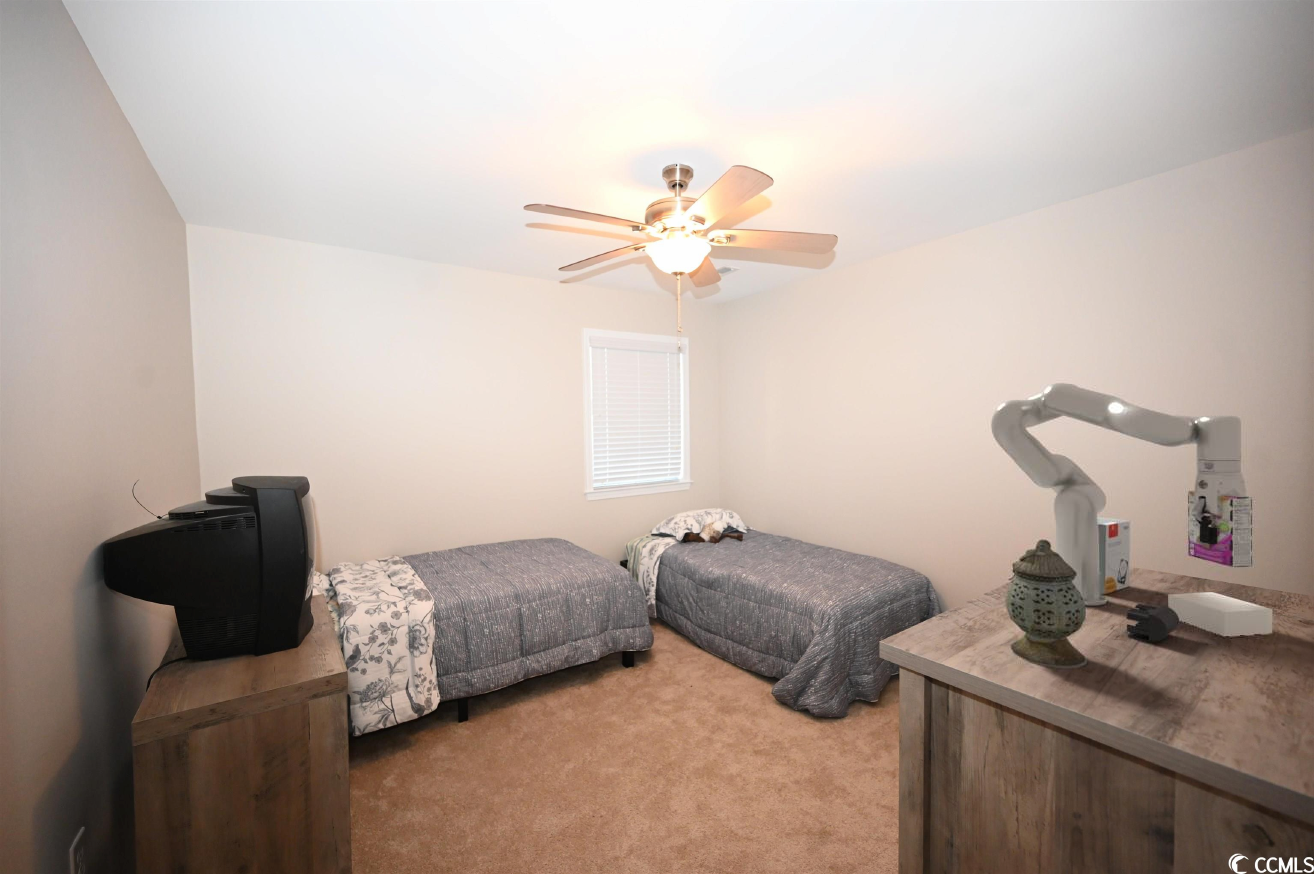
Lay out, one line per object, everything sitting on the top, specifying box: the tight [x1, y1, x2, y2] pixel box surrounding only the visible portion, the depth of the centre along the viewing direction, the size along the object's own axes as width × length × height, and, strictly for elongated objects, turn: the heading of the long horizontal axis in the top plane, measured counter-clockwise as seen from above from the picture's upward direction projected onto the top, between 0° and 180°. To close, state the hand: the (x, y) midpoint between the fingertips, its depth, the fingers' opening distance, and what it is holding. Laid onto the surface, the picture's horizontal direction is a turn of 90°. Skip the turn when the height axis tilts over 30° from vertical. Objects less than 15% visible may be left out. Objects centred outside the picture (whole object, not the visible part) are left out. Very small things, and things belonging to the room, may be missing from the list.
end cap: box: [1126, 603, 1180, 644], centre depth 129 cm, size 10×7×7 cm
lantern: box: [1005, 539, 1088, 670], centre depth 121 cm, size 14×14×25 cm
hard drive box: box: [1097, 516, 1131, 595], centre depth 165 cm, size 16×8×20 cm, turn 119°
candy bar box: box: [1187, 490, 1253, 568], centre depth 134 cm, size 11×5×16 cm, turn 179°
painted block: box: [1167, 591, 1273, 638], centre depth 135 cm, size 12×13×6 cm
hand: (1218, 541), depth 134 cm, fingers closed on candy bar box, 5 cm apart
